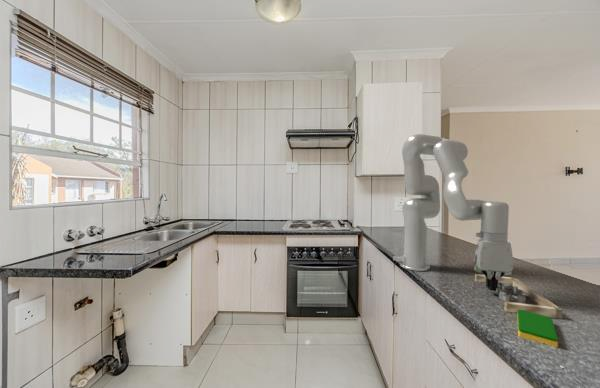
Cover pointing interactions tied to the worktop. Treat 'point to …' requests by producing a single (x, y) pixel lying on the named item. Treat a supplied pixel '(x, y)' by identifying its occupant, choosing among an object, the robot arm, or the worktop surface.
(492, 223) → the robot arm
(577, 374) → the worktop surface
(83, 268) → the worktop surface
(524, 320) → the dish sponge
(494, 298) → the worktop surface
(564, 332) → the worktop surface
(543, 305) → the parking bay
